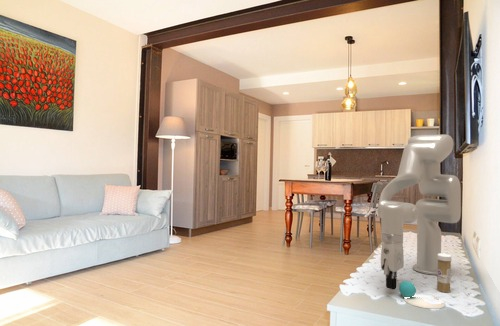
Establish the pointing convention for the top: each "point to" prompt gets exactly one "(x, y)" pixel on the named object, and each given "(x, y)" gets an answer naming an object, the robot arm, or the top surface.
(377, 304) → the top surface
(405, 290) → the ball
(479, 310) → the top surface
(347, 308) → the top surface
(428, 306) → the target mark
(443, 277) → the sprinkles bottle
